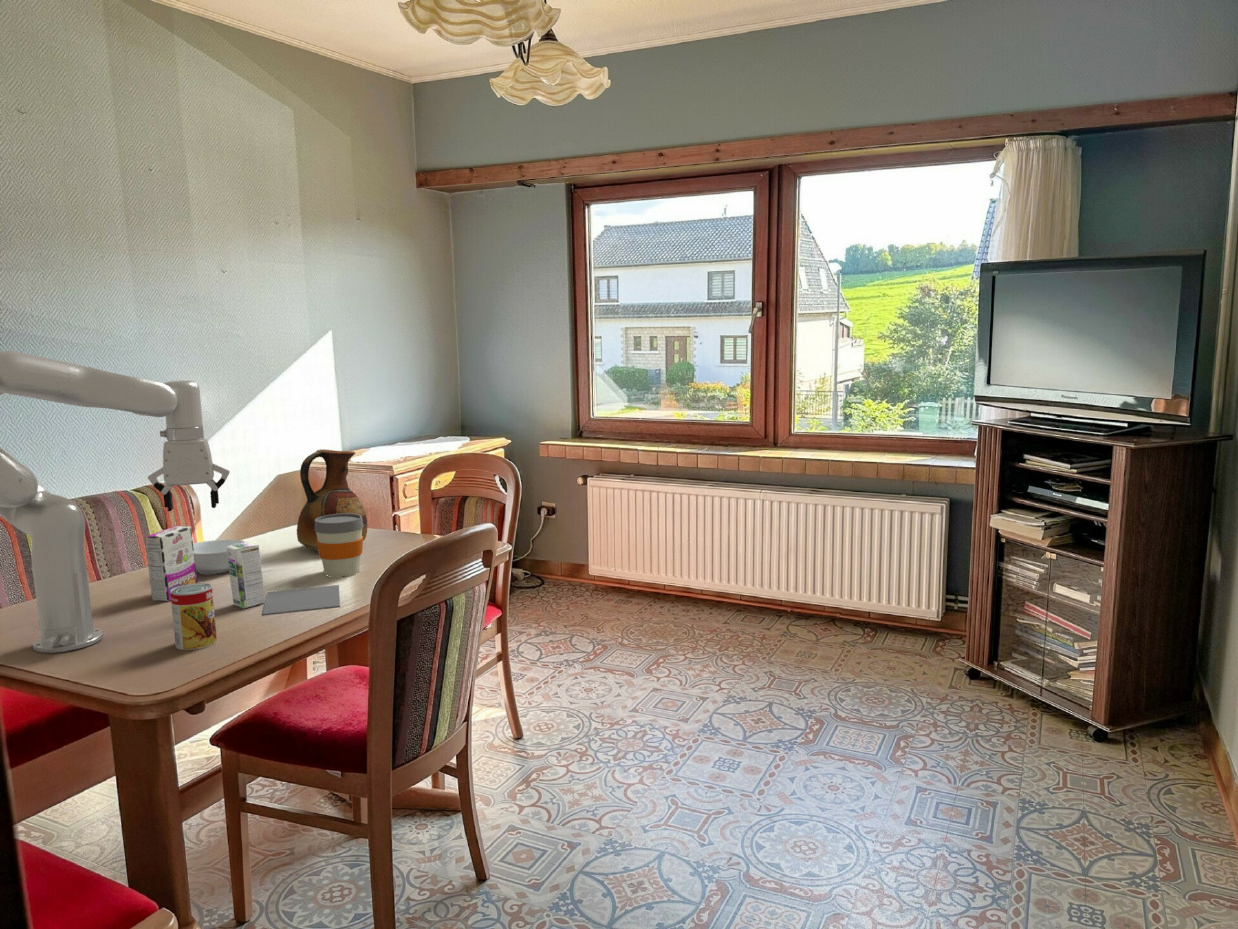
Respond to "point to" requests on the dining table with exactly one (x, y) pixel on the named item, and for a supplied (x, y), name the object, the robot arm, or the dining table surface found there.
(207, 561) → the cereal bowl
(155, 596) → the candy bar box
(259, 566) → the syrup box
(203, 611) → the canned food
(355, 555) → the reusable coffee cup
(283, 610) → the mat
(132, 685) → the dining table surface
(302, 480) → the ceramic pitcher
